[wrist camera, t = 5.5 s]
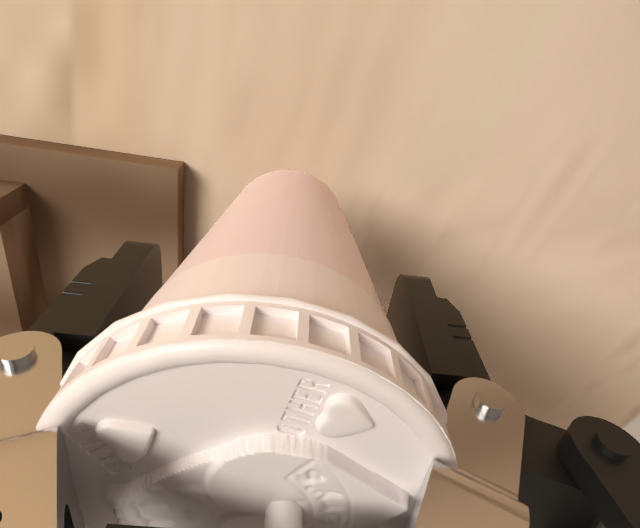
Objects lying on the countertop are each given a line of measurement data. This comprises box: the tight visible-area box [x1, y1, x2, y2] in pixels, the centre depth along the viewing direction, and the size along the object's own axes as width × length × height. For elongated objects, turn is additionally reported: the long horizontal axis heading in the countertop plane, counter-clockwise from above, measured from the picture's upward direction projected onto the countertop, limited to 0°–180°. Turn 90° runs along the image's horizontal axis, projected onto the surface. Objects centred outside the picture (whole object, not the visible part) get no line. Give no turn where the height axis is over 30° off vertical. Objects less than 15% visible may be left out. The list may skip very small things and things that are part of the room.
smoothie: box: [36, 170, 458, 528], centre depth 9 cm, size 6×6×14 cm
